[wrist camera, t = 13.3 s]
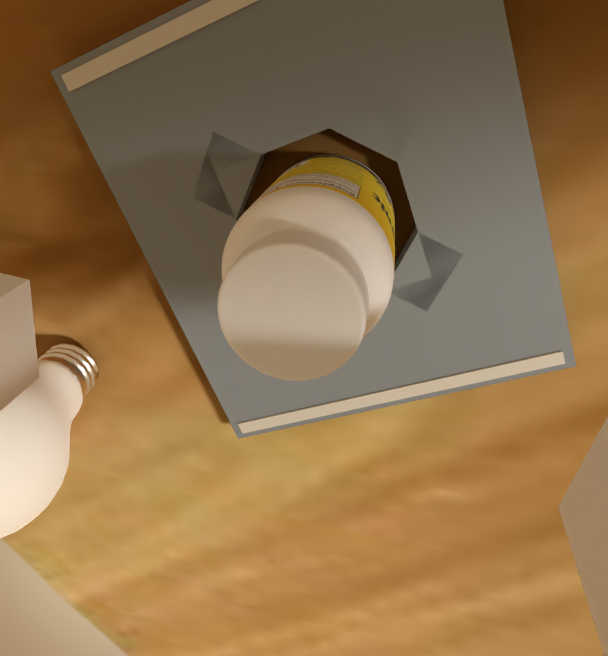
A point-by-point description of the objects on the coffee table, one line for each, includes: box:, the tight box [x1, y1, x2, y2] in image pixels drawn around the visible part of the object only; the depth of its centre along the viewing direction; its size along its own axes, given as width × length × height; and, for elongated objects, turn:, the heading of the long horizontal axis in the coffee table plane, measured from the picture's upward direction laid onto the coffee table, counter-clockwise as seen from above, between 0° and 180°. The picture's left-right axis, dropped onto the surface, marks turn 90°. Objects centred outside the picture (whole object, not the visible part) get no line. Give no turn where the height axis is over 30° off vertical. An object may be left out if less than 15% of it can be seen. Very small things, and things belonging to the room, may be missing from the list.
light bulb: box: [0, 343, 99, 538], centre depth 23 cm, size 7×7×11 cm
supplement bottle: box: [217, 155, 395, 381], centre depth 18 cm, size 5×5×10 cm
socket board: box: [50, 0, 576, 439], centre depth 22 cm, size 16×18×1 cm
